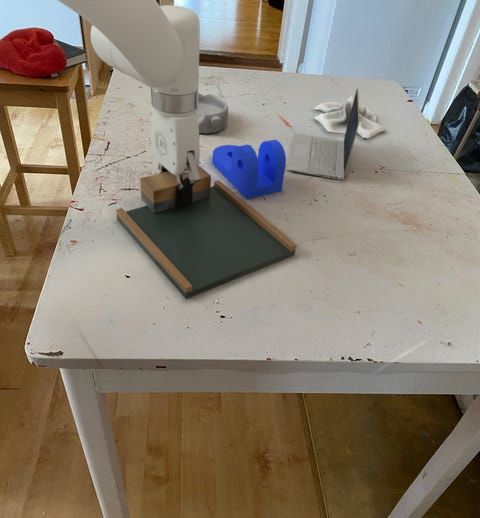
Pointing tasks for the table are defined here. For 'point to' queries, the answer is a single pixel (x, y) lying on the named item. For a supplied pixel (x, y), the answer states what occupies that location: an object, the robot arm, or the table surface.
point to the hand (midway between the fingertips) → (176, 196)
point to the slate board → (207, 240)
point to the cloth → (347, 118)
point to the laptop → (325, 150)
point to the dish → (211, 113)
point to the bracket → (252, 167)
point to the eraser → (171, 189)
